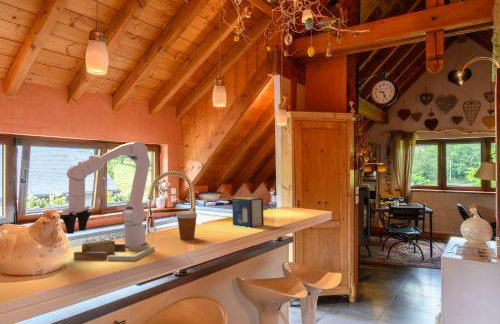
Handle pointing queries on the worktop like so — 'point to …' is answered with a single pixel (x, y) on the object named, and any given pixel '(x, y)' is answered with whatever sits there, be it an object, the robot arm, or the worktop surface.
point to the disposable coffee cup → (186, 225)
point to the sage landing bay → (133, 258)
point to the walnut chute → (96, 254)
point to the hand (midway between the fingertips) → (76, 231)
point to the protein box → (248, 211)
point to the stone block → (99, 247)
